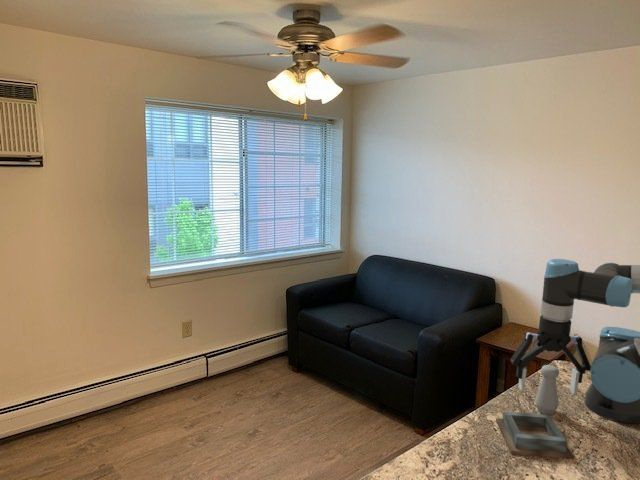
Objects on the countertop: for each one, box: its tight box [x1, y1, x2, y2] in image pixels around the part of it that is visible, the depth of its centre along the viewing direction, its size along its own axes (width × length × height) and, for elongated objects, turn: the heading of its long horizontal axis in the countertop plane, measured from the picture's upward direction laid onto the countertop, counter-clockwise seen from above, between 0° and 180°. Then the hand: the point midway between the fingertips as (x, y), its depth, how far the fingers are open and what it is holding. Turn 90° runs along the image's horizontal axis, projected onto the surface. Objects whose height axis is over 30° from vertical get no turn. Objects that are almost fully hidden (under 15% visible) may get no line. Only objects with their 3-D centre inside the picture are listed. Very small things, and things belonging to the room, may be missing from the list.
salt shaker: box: [534, 364, 560, 416], centre depth 128 cm, size 6×6×13 cm
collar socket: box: [495, 411, 575, 460], centre depth 116 cm, size 14×14×4 cm
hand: (546, 391), depth 128 cm, fingers open, 13 cm apart
